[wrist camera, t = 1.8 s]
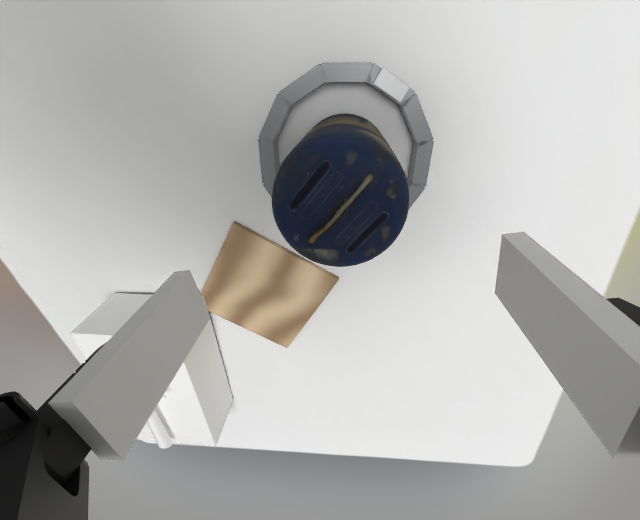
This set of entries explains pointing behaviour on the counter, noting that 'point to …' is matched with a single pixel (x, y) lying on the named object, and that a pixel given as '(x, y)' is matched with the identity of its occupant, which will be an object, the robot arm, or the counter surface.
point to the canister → (341, 193)
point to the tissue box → (186, 387)
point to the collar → (350, 74)
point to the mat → (264, 286)
